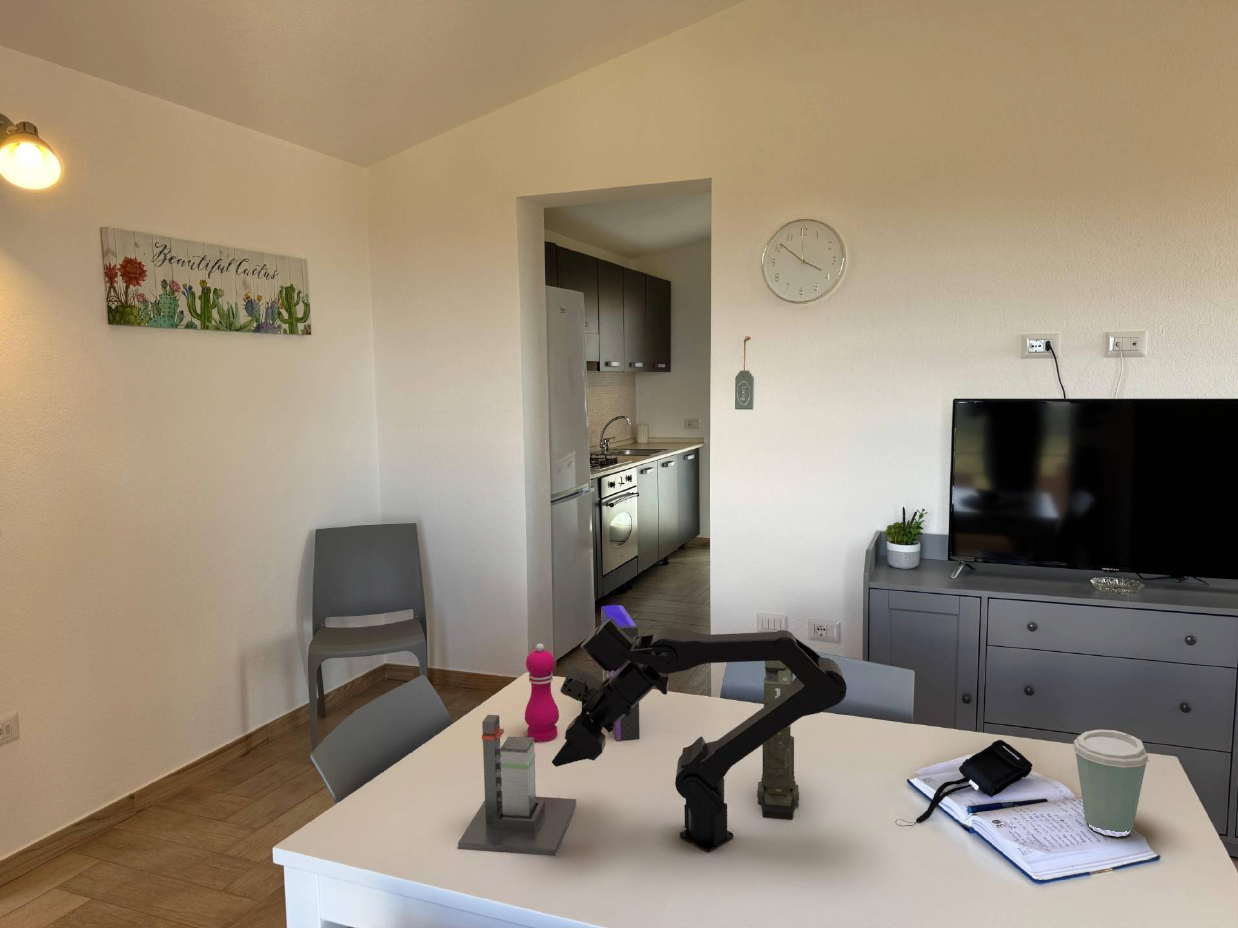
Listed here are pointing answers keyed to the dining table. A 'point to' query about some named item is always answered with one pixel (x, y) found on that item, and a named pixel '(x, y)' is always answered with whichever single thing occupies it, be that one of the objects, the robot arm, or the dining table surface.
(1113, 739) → the disposable coffee cup
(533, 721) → the pepper mill
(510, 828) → the grey square stand
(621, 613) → the cereal box
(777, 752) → the mechanical leg
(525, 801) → the jack column
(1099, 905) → the dining table surface
